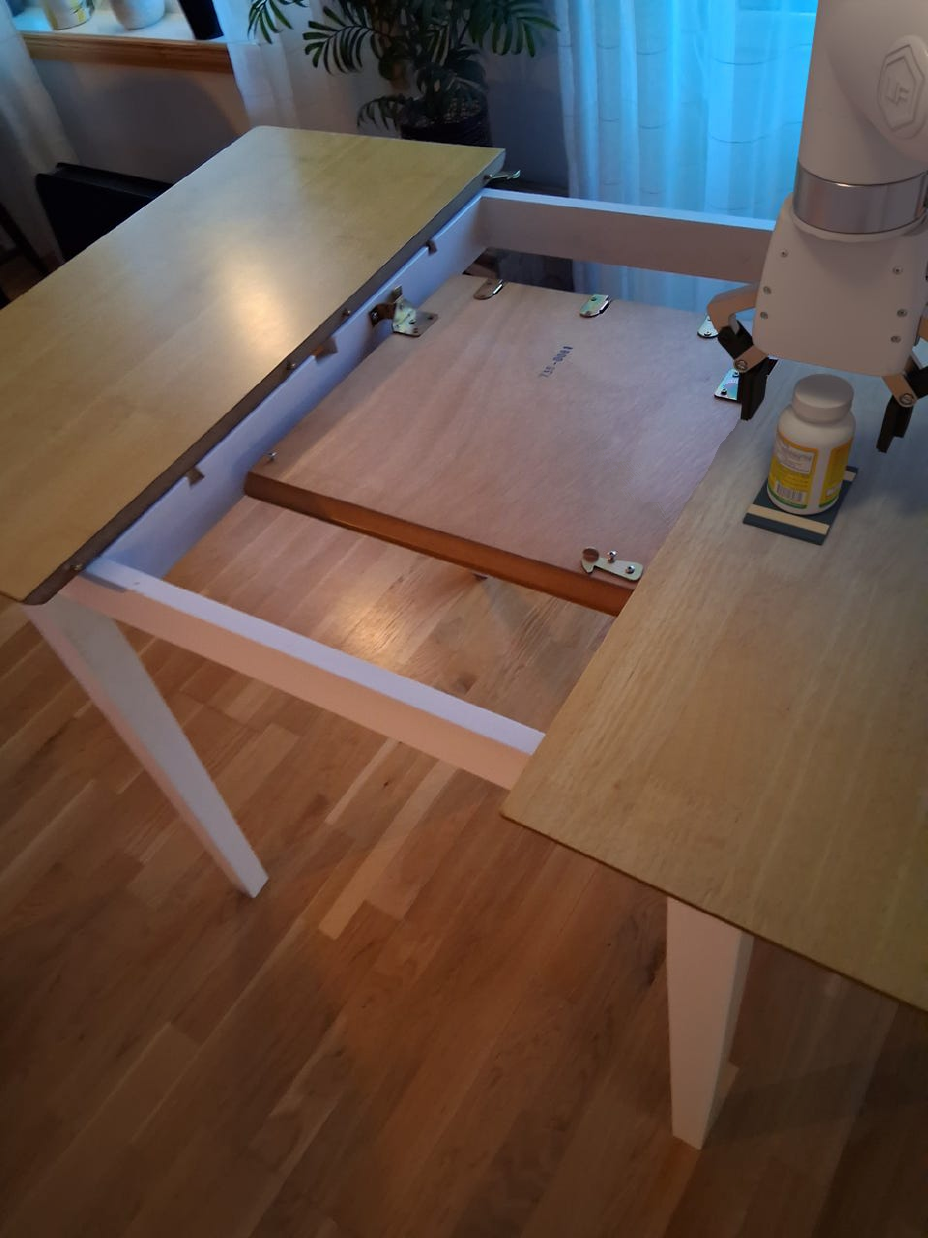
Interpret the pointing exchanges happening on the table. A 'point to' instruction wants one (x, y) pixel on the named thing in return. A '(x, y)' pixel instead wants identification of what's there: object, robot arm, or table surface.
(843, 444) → the supplement bottle
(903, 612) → the table surface
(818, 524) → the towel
